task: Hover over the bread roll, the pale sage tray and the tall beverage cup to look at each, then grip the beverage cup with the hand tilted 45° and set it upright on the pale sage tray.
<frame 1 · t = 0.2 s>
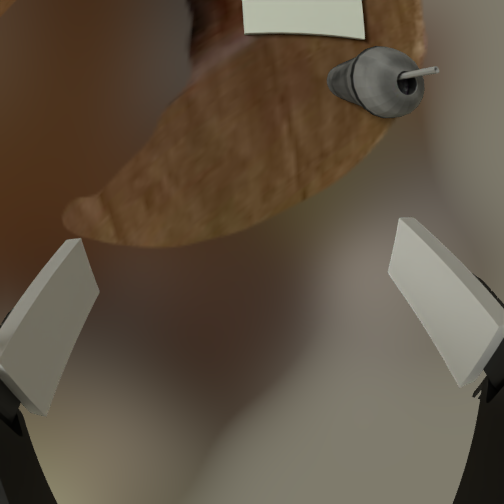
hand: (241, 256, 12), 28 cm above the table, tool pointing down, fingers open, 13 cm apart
beverage cup: (343, 81, 32), on the table
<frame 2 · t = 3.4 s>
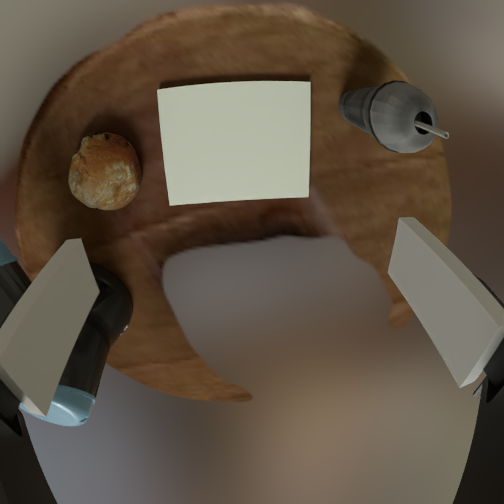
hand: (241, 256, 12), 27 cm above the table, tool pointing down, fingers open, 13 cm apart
bread roll: (109, 167, 35), on the table
beverage cup: (354, 106, 34), on the table
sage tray: (236, 141, 35), on the table
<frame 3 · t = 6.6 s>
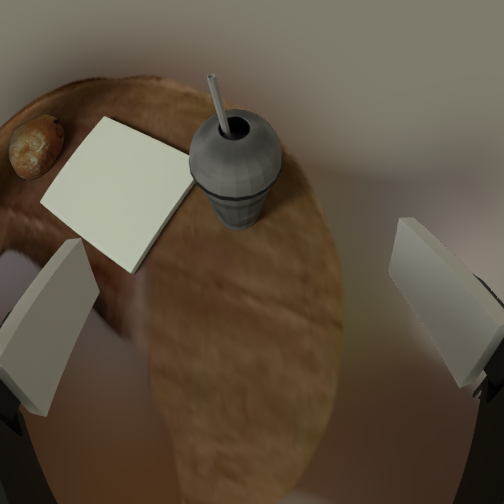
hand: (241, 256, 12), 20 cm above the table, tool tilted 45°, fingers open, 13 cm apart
bread roll: (42, 151, 36), on the table
beverage cup: (238, 212, 34), on the table
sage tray: (115, 185, 34), on the table
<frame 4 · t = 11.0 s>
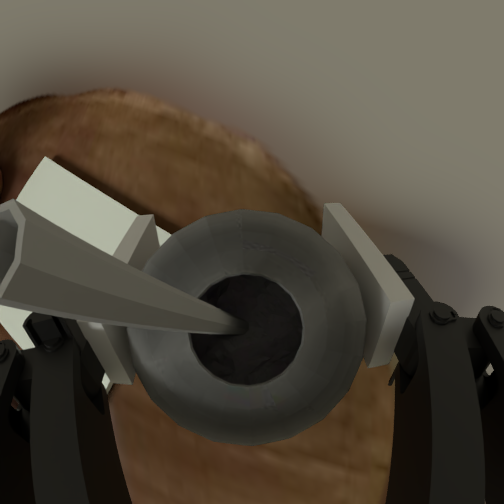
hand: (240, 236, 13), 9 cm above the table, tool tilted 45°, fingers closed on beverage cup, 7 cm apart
beverage cup: (246, 327, 20), on the table, touching gripper
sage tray: (58, 272, 21), on the table
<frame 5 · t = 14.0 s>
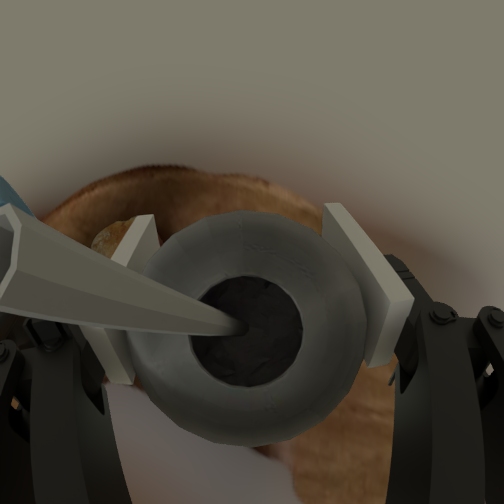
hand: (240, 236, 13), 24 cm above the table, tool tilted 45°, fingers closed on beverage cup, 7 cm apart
bread roll: (132, 259, 38), on the table
beverage cup: (246, 328, 20), point 16 cm above the table, touching gripper
when the fingers open (11 cm above the table, at t = 17.3 s): beverage cup drops 1 cm, resting on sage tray.
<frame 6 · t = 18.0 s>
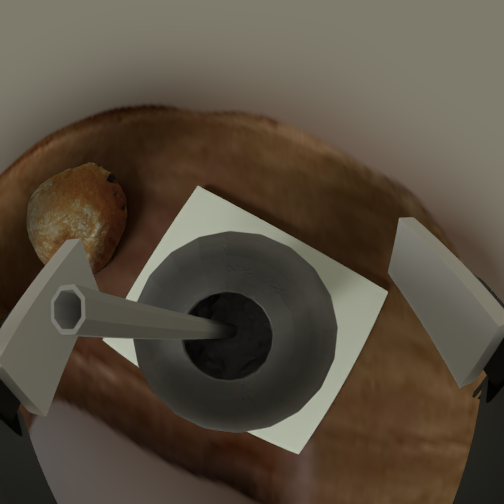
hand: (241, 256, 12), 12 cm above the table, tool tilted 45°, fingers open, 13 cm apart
bread roll: (85, 224, 25), on the table
beverage cup: (243, 328, 22), point 1 cm above the table, touching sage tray
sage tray: (246, 322, 23), on the table
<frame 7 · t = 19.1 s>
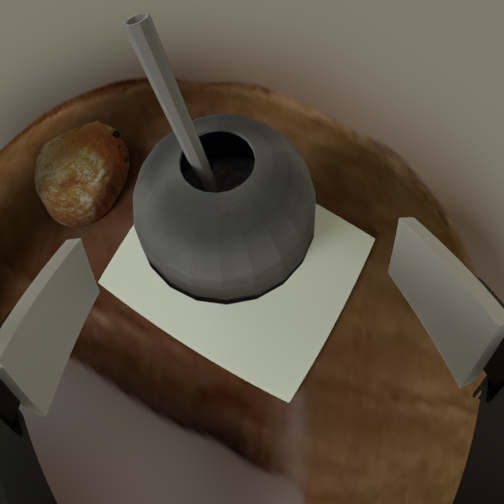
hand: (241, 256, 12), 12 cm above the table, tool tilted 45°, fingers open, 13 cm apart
bread roll: (89, 179, 26), on the table
beverage cup: (234, 268, 23), point 1 cm above the table, touching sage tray
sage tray: (236, 263, 24), on the table
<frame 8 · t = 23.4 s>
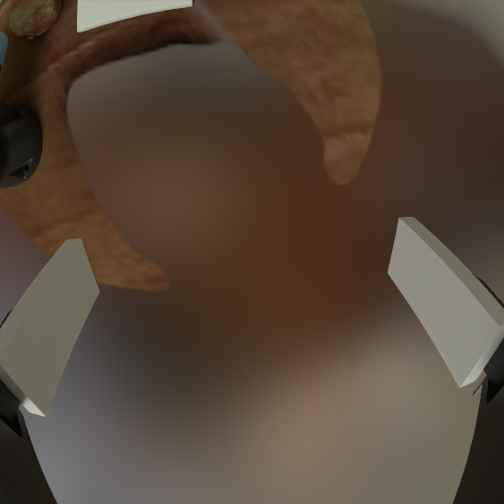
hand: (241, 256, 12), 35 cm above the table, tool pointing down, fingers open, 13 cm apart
bread roll: (41, 12, 26), on the table
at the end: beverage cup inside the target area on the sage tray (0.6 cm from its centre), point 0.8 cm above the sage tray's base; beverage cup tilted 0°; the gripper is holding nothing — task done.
